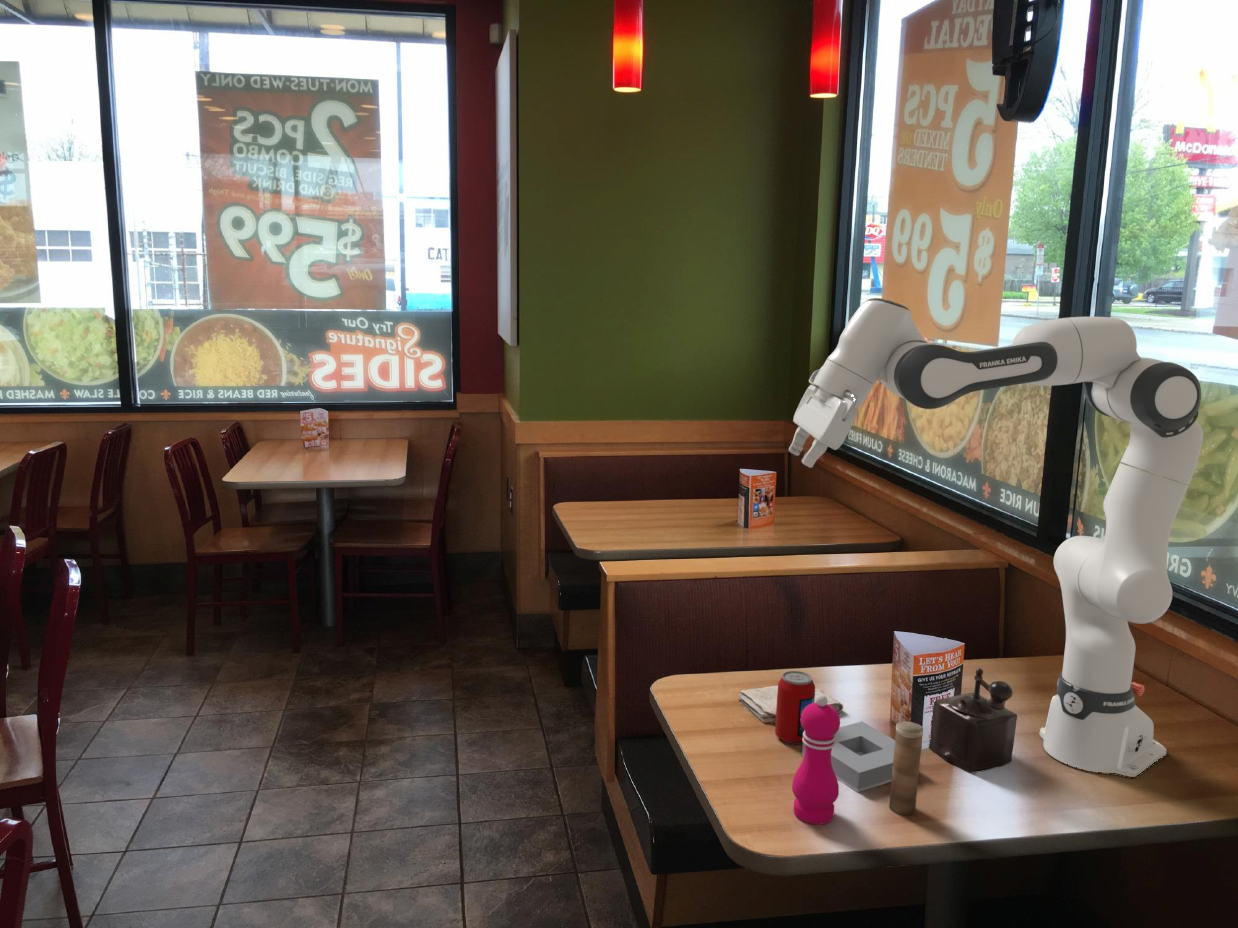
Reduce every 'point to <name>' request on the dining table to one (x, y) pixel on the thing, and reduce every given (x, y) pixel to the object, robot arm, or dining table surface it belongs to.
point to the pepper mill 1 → (817, 764)
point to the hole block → (862, 756)
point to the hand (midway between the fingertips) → (799, 459)
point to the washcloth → (772, 702)
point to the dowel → (905, 768)
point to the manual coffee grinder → (975, 727)
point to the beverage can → (793, 705)
